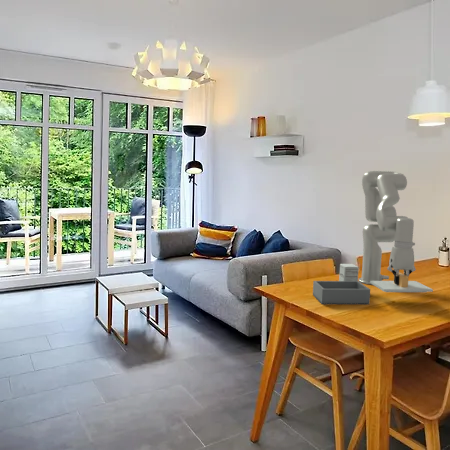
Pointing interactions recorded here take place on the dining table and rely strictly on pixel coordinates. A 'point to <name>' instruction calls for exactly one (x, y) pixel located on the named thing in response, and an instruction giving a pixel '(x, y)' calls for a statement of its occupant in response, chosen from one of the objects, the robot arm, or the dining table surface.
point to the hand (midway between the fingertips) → (400, 283)
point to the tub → (341, 292)
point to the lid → (401, 285)
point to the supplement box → (348, 272)
